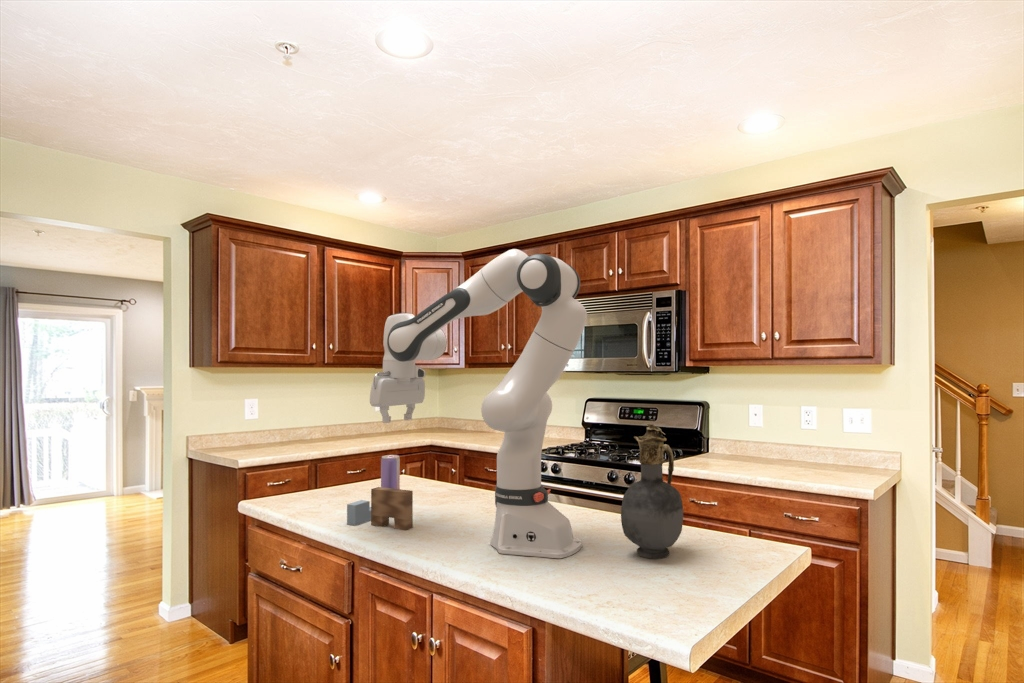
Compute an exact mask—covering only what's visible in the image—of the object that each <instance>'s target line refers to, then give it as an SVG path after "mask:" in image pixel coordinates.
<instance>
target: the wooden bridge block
mask: <svg viewBox="0 0 1024 683" xmlns="http://www.w3.org/2000/svg"><path fill="white" fill-rule="evenodd" d="M370 494H371V495H370V507H371V521H370V525H371V526H373V525H374V527H380V528H383V527H385V526H388V525H390V518H391V519H393V521H394V523H393V526H394V529H395V530H401V531H408V530H410V529H412V528H414V527H413V521H414V520H413V515H414V514H413V513H414V512H413V502H414V501H413V498H414V497H413V495H414V493H413V490H409V489H392V488H383V487H381V486H376V487H373V488H371V489H370Z"/></svg>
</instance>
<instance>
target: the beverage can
mask: <svg viewBox="0 0 1024 683" xmlns="http://www.w3.org/2000/svg"><path fill="white" fill-rule="evenodd" d="M400 462H401V459H400V455H397V454H387V455H382V456H381V458H380V487H383V488H392V489H400V486H401V481H400V480H401V478H400V476H401V472H400V471H401V470H400V469H401V468H400V467H401V466H400V464H401V463H400Z"/></svg>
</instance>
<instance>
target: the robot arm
mask: <svg viewBox="0 0 1024 683" xmlns="http://www.w3.org/2000/svg"><path fill="white" fill-rule="evenodd" d="M580 288H581V278H580V276H579V273H578V272H577V270H576V269H575V268H574V267H573V266H572V265H571V264H568V263H566V262H564V261H563V260H562V259H560V258H558V257H554V256H551V255H548V254H547V253H546V254H545V253H535V254H532V255H528V254H527V253H526V252H524V251H523V250H521V249H517V248H512V249H508V250H507V251H504V252H503V253H501V254H499V255H498V256H497V257H495V258H494V259H492V260H491V261H489V262H488V263H486V264H485V265H484V266H483V267H481V268H480V269H479V271H477V272H476V273H475V274H473V275H472V276H471V277H469V278H468V279H467V280H465V281H464V282H463V283H461V284H459V286H456V287H455V288H454V289H452V290H451V291H449V292H447V293H446V294H444V295H443V296H441V297H440V298H439V299H437V300H436V301H434V302H433V303H432V304H430V305H429V306H428V307H426V308H425V309H423V310H422V311H420V312H419V313H418V314H416V315H414V314H413V313H410V312H398V313H397V312H396V313H393V314H391V315H389V316H388V317H387V318H386V320H385V324H384V329H383V344H382V345H383V350H384V354H383V357H382V371H378V372H376V374H375V375H374V376H373V379H372V382H371V387H370V394H369V404H370V405H371V407H372V408H373V407H375V408H379V412H380V414H381V417H382V419H381V420H382V423H383V424H389V423H392V416H390V414H389V411H390V407H393V406H404V405H405V406H406V408H407V409H406V412H405V413H404V414H403V420H404V421H412V420H413V413H414V410H415V409H416V405H417V404H422V403H423V402H424V400H425V396H426V383H425V382H426V381H425V378H426V370H425V369H423V368H421V367H419V366H418V365H416V361H434V360H438V359H440V358H441V357H442V356H443V355H444V353H445V351H446V349H447V344H448V341H447V336H446V333H445V332H444V331H443V329H442V328H444V327H445V326H446V325H448V324H450V323H451V322H453V321H455V320H458V319H463V318H468V317H478V316H488V315H490V314H493V313H495V312H496V311H498V310H500V309H501V308H503V307H504V306H506V305H507V304H508V303H509V302H511V301H512V300H513V299H514V298H516V297H517V296H518V295H519V294H521V293H524V294H525V295H526V296H527V297H528V299H530V300H531V302H532V303H533V304H534V305H535V306H536V307H541V315H540V317H539V319H538V321H537V323H536V325H535V328H534V329H533V331H532V333H531V335H530V337H529V339H528V341H527V342H526V344H525V346H524V348H523V350H522V352H521V354H520V356H519V357H518V359H516V362H515V363H514V364H513V366H512V367H511V368H510V369H509V370H508V372H507V373H506V374H505V375H504V377H503V378H502V380H501V381H500V382H499V383H498V385H497V386H496V387H495V388H494V389H493V390H492V391H491V392H489V393H488V394H487V395H486V396H485V397H484V399H483V400H482V403H481V408H480V409H481V417H482V420H483V422H484V423H485V424H486V425H487V426H488V427H489V428H490V429H493V430H495V431H498V432H503V433H504V435H503V440H502V442H501V444H500V447H499V449H498V451H497V454H496V485H495V488H494V490H495V491H494V504H495V520H494V526H493V530H492V531H493V532H492V536H491V540H490V545H491V547H493V548H495V549H496V550H497V552H498V553H499V554H501V555H502V554H503V555H516V556H525V557H538V558H551V559H562V558H567V557H570V556H572V555H574V554H576V553H577V552H579V551H580V550H581V549H582V546H583V543H582V540H581V539H580V538H577V537H576V538H575V537H574V536H573V535H574V534H573V529H572V528H573V527H572V524H571V521H570V520H569V518H568V517H567V516H566V515H564V514H563V513H562V512H561V511H559V509H557V508H556V507H555V506H554V505H553V504H552V503H550V502H549V495H550V494H551V490H552V489H551V488H549V489H545V487H544V486H543V485H542V451H543V445H544V439H545V434H546V429H547V424H548V420H549V418H550V416H551V414H552V410H553V403H552V402H553V401H552V398H551V396H550V394H549V393H548V391H549V390H550V388H551V387H553V385H555V383H556V382H557V381H558V380H560V378H561V376H562V374H563V372H564V371H565V368H566V367H567V365H568V363H569V362H570V359H571V357H572V355H573V354H574V352H575V350H576V348H577V346H578V344H579V341H580V339H581V336H582V334H583V332H584V329H585V326H586V323H587V318H588V313H587V310H586V308H585V306H584V305H583V303H581V302H579V301H578V300H577V299H575V298H576V297H577V296H578V294H579V291H580Z"/></svg>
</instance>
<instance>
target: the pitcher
mask: <svg viewBox="0 0 1024 683" xmlns="http://www.w3.org/2000/svg"><path fill="white" fill-rule="evenodd" d="M645 427H646V432H645V434H643V435H642V436H641V435H640V436H635V435H634V436H633V438H634V439H635V441H637V443H638V446H639V464H640V480H638V481H636V482H634V483H632V484H631V485H630V486H629V487H628V488H627V490H625V492H624V494H623V497H622V502H621V506H620V507H621V509H620V521H621V527H622V531H623V534H624V536H625V537H626V539H628V540H629V541H630V542H631V543H632V544H635V545H636V546H637V547H638V548H636V554H637V555H638V556H640V557H642V558H645V559H650V560H651V559H652V560H653V559H655V560H657V559H664V558H667V557H668V556H669V555H670V550H669V548H670V547H673V546H674V545H675V543H676V542H677V541H678V539H679V538H680V535H682V534H681V533H682V530H683V524H684V522H683V521H684V504H683V500H682V495H681V493H680V491H678V489H676V487H674V486H673V485H671V484H672V480H673V473H674V470H675V469H674V466H675V465H674V462H675V461H674V454H673V450H672V448H671V447H670V445H669V444H666V443H665V444H664V442H666V441H667V438H666V437H665V436H666V433H664V432H663V431H662V428H660V427H659V426H656V425H655V424H652V423H647V425H645ZM665 452H666V454H667V457H668V468H667V474H668V475H667V480H666V481H667V482H666V481H664V480H663V464H664V453H665Z"/></svg>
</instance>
